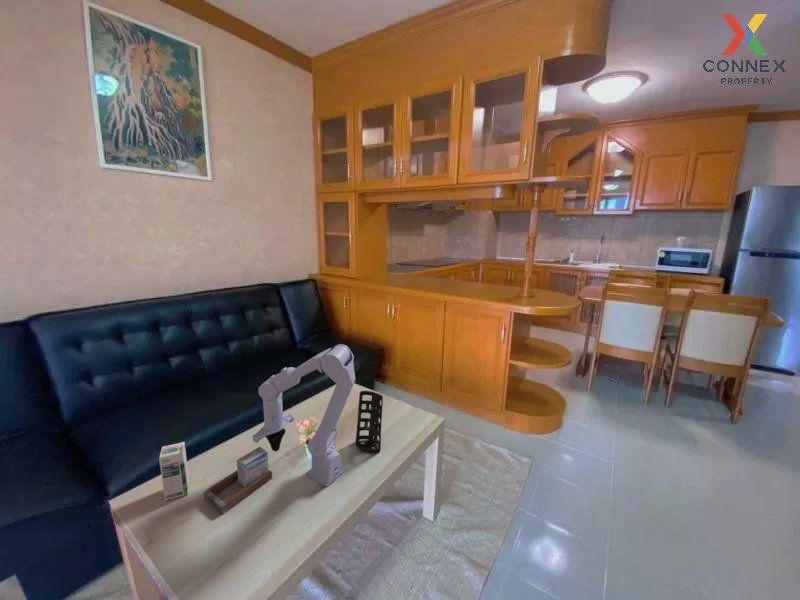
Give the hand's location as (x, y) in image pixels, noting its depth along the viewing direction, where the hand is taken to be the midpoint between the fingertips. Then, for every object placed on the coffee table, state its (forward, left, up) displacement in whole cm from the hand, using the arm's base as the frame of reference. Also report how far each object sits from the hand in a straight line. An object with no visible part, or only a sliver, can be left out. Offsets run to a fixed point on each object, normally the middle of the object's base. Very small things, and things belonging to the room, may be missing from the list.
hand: (275, 449), depth 110 cm
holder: (-20, -26, -6) cm, 33 cm away
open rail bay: (0, +13, -5) cm, 14 cm away
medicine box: (0, +8, -6) cm, 10 cm away
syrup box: (+14, +24, -6) cm, 28 cm away
